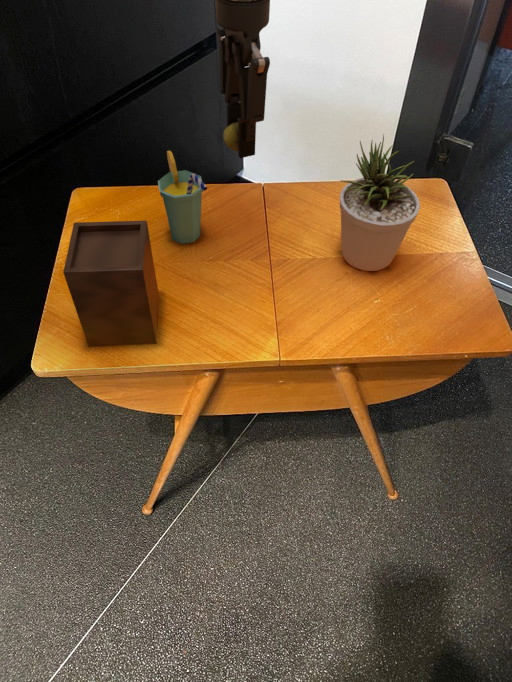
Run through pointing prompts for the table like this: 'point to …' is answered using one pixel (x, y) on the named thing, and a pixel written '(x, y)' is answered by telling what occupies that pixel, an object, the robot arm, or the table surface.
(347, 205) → the potted plant
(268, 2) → the robot arm
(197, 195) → the cup
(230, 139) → the lime
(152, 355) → the table surface
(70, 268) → the dark brown box
